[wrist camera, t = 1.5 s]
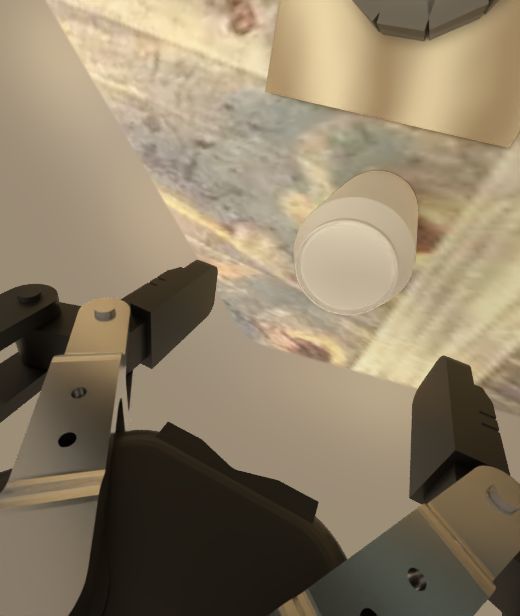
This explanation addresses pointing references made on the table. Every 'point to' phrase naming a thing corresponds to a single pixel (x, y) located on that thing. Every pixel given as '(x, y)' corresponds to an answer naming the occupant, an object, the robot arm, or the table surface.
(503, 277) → the table surface
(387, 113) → the ring board
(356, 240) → the beverage can
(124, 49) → the table surface
